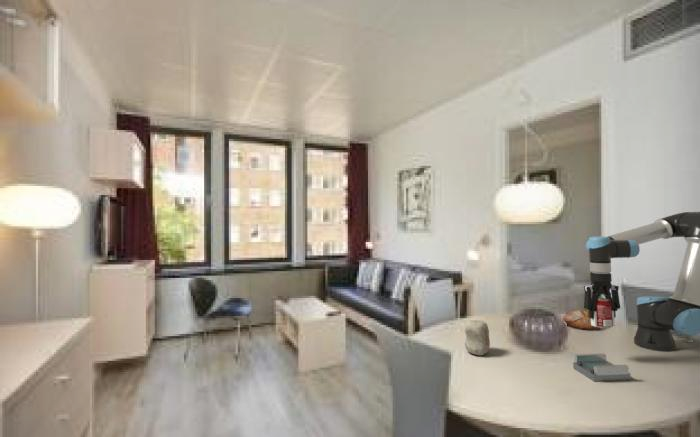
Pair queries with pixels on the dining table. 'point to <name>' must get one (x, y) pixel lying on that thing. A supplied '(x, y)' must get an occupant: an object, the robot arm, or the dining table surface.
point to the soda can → (604, 313)
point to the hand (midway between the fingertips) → (602, 325)
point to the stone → (477, 337)
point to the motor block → (600, 368)
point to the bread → (579, 320)
